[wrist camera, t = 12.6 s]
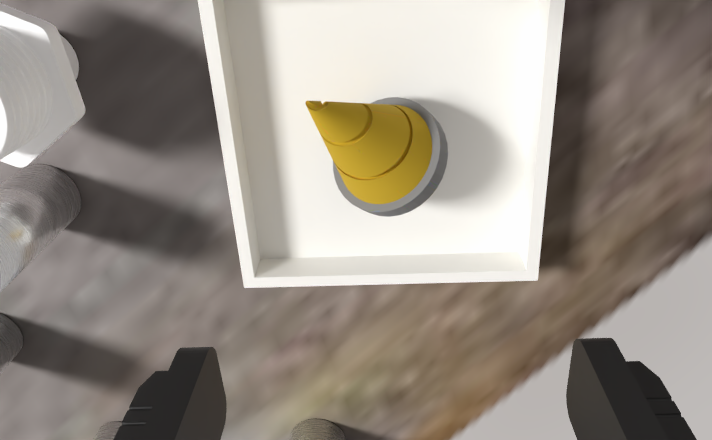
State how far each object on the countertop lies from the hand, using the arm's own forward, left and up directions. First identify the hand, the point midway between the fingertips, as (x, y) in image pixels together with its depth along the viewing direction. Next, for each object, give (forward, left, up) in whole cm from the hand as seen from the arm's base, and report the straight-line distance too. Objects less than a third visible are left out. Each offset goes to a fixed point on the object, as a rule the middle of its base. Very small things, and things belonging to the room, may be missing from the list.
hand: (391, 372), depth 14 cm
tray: (0, 0, -18) cm, 18 cm away
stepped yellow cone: (0, -1, -18) cm, 18 cm away
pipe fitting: (-4, -16, -18) cm, 25 cm away
